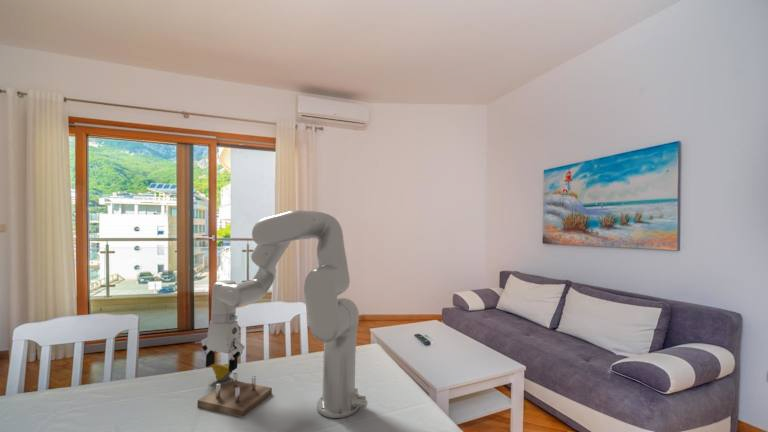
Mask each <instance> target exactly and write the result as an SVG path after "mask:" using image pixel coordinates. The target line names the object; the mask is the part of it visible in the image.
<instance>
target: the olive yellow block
mask: <svg viewBox="0 0 768 432" xmlns="http://www.w3.org/2000/svg"><path fill="white" fill-rule="evenodd" d="M210 367H211V369H212V370H213V372H214V375H215V379H216V381H219V382H224V381H225V380H227V379H228V378H229V377H230V375H231V374H233V371H231V372H229V363H228V364H212V365H210Z"/></svg>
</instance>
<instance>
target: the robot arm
mask: <svg viewBox="0 0 768 432" xmlns="http://www.w3.org/2000/svg"><path fill="white" fill-rule="evenodd" d="M251 231H252V232H251V236H252V240H253V242H254V243H255V244H256V246H255V248H254V250H253V251H252V253H251V254H250V255H251V256H250V257H251V261H252V262H253V264H254V265H256V267H258V270H257V272H256V273H255V275H254V276H253V278H252V279H251V280H246V281H243V282H238V283H236V281H234V280H228V279H227V280H218V281H216V282H214V283H213V284H212V290H211V291H212V292H211V311H210V312H211V313H210V314H211V316H210V321H209V324H208V330H207V337H205V338H203V339H201V340H200V343H201V346H202V350H203V351H204V355H205V367H206V368H209V367H211V365H215V361H216V360H215V358H216V357H215V356H216V352H217V353H223V354H227V355H228V356H229V358H230V359H229V360H228V365H229V372H231V371H232V372H234V371H235V370H236V369H237V368H238V360H239V359H238V358H239V357H240V356H241V355H242V354H243V352H244V350H245V345H244V344H242V343H241V342H240V328H239V323H238V320H237V319H238V315H237V314H236V313H237V308H240V307H243V306H246V305H249V304H252V303H255V302H257V301H260V300H261V299H263V298H264V297H265V295H266V294H267V293H268V291H269V290H270V288H271V287H272V285H273V283H274V282H275V279H276V272H277V271H276V266H277V264H278V263H279V261H280V259H281V258H282V257H283V255H284V253H285V251H286V250H287V248H288V247H289V246H290V244H291V242H292V241H298V240H309V239H317V241H318V242H317V246H316V255H317V257H316V258H317V263H318V267H315V268H313V269H311V270H310V271H309V272H308V273H307V275H306V277H305V279H304V286H303V290H304V291H303V292H304V300H305V306H306V314H307V321H308V326H309V330H310V332H311V334H312V336H313V337H314V339H315V340H317V341H319V342H321V343H323V355H322V356H323V363H322V364H323V365H322V366H323V367H322V368H323V369H322V396H321V397H320V398H319V399H318V400H317V402H316V409H317V411H318V413H320V415H322V416H324V417H327V418H331V419H341V418H346V417H349V416H352V415H353V414H355V413H356V412H357V411H358V410H359V408H366V409H367V407H368V400H367V396H366V395H361V394H359V388H356V354H357V351H356V350H357V348H356V347H357V332H358V327H359V321H360V320H359V319H360V313H359V309H358V307H357V304H356V303H355V302H354V301H352V300H351V299H349V298H343V297H342V298H338V296H339V295H342V294H343V293H344V292H345V293H346V291H347V290H348V288H349V286H350V283H351V282H350V281H351V280H350V272H349V266H348V260H347V255H346V249H345V243H344V242H345V240H344V234H343V229H342V226H341V224H340V222H339V221H338V220H337V218H335V217H334V216H332V215H330V214H329V213H325V212H321V211H317V210H316V211H315V210H290V211H287V212H282V213H278V214H275V215H271V216H268V217H264V218H261V219H259V220H258V221H256V223H255V224H254V226H253V227H252V230H251Z"/></svg>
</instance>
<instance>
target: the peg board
mask: <svg viewBox="0 0 768 432" xmlns="http://www.w3.org/2000/svg"><path fill="white" fill-rule="evenodd" d="M232 375H233V379H230V380H228V381H225V383H223V384H221V383H220V382H218V383H216V384H215V389H214V390H212V391H209V393H207V394H206V395H203V396H202V397H201V398H199V399H198V400H197V404H196V405H197V407H199V408H203V409H206V410H211V411H216V412H220V413H224V414H228V415H233V416H237V417H241V418H244V417H245V416H246V415H247V414H248V413H249V412H251V411H252V410H253V409H254V408H256V407H257V406H258V405H260V404H261V403H262V402H263V401H265V400H266V399H267V398H268V397H269V396H270V395H272V394H273V393H272V392H273V391H272V387H270V386H264V385H259V384H256V382H257V377H256V375H254V376H251V383H249V382H244V381H239V380H238V372H235V373H232Z"/></svg>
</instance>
